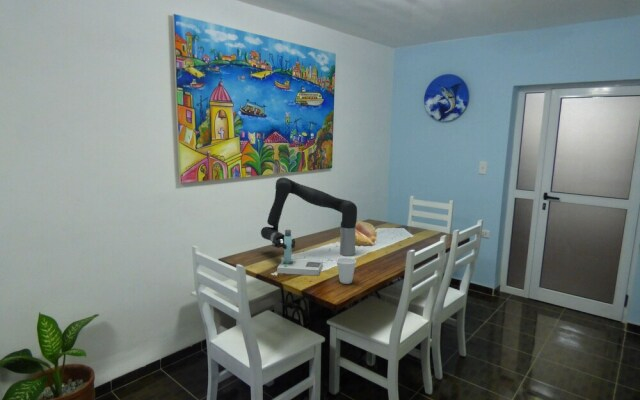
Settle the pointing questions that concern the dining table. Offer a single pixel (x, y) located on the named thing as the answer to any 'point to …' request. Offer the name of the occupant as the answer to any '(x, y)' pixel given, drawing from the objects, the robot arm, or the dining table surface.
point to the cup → (346, 269)
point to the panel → (301, 267)
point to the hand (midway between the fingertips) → (289, 246)
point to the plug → (288, 247)
